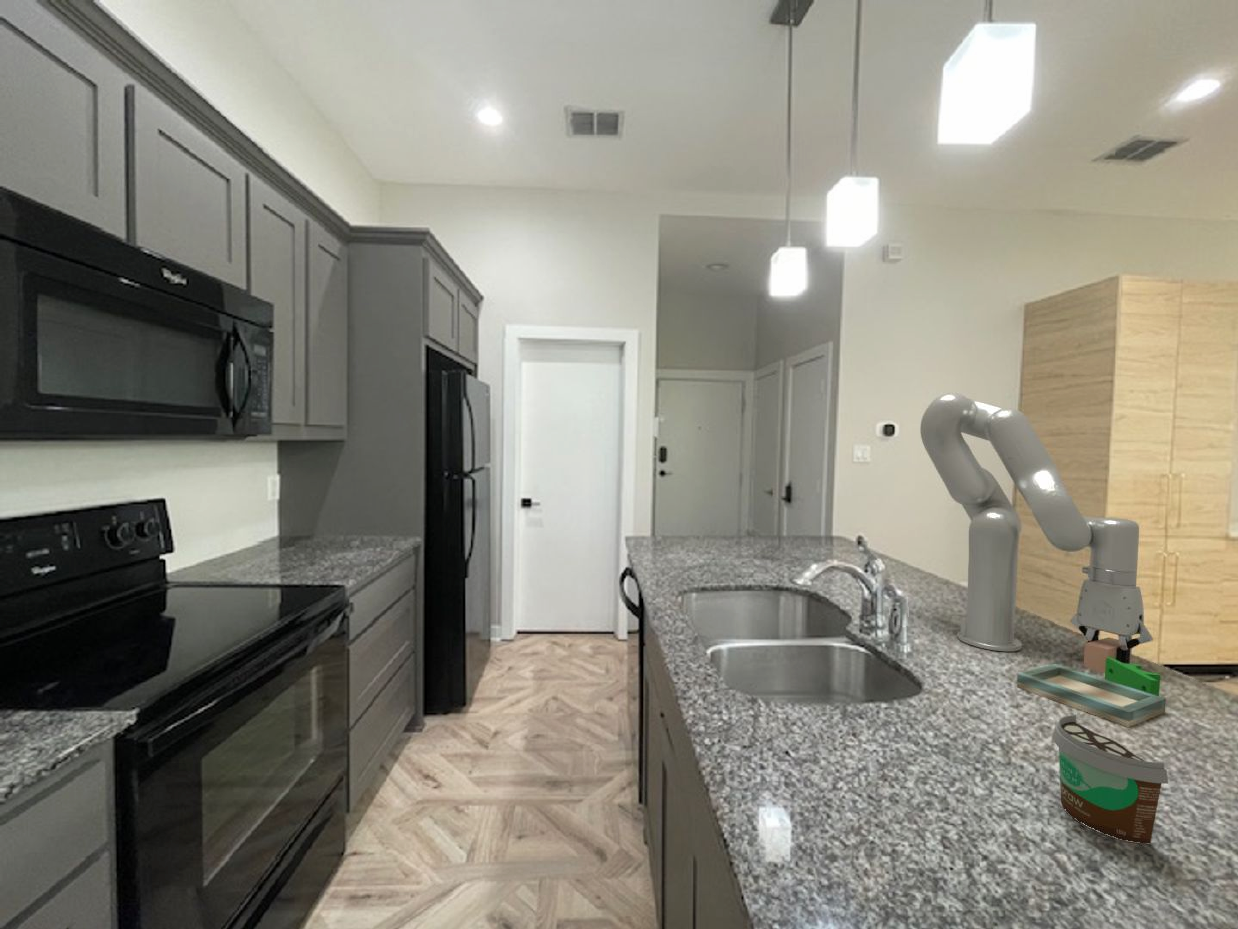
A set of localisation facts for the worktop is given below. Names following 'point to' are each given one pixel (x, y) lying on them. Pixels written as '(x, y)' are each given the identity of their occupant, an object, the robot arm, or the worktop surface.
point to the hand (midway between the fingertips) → (1107, 662)
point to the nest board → (1092, 694)
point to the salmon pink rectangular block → (1100, 653)
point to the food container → (1107, 783)
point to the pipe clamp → (1132, 676)
